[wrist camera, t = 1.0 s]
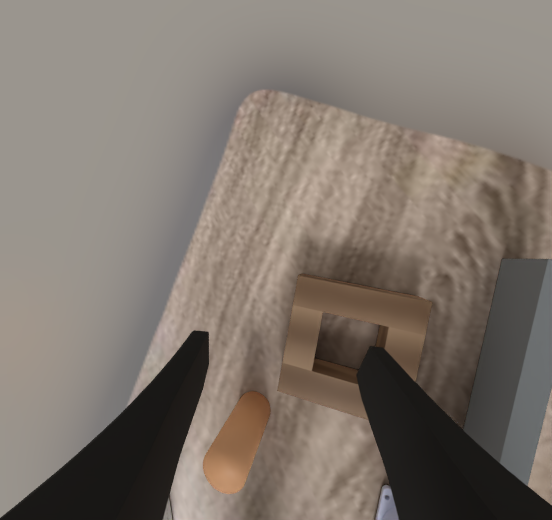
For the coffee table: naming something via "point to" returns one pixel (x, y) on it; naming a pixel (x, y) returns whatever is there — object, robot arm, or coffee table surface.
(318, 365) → the brown square frame
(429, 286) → the coffee table surface
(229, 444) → the dowel
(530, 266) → the wall
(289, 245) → the coffee table surface
